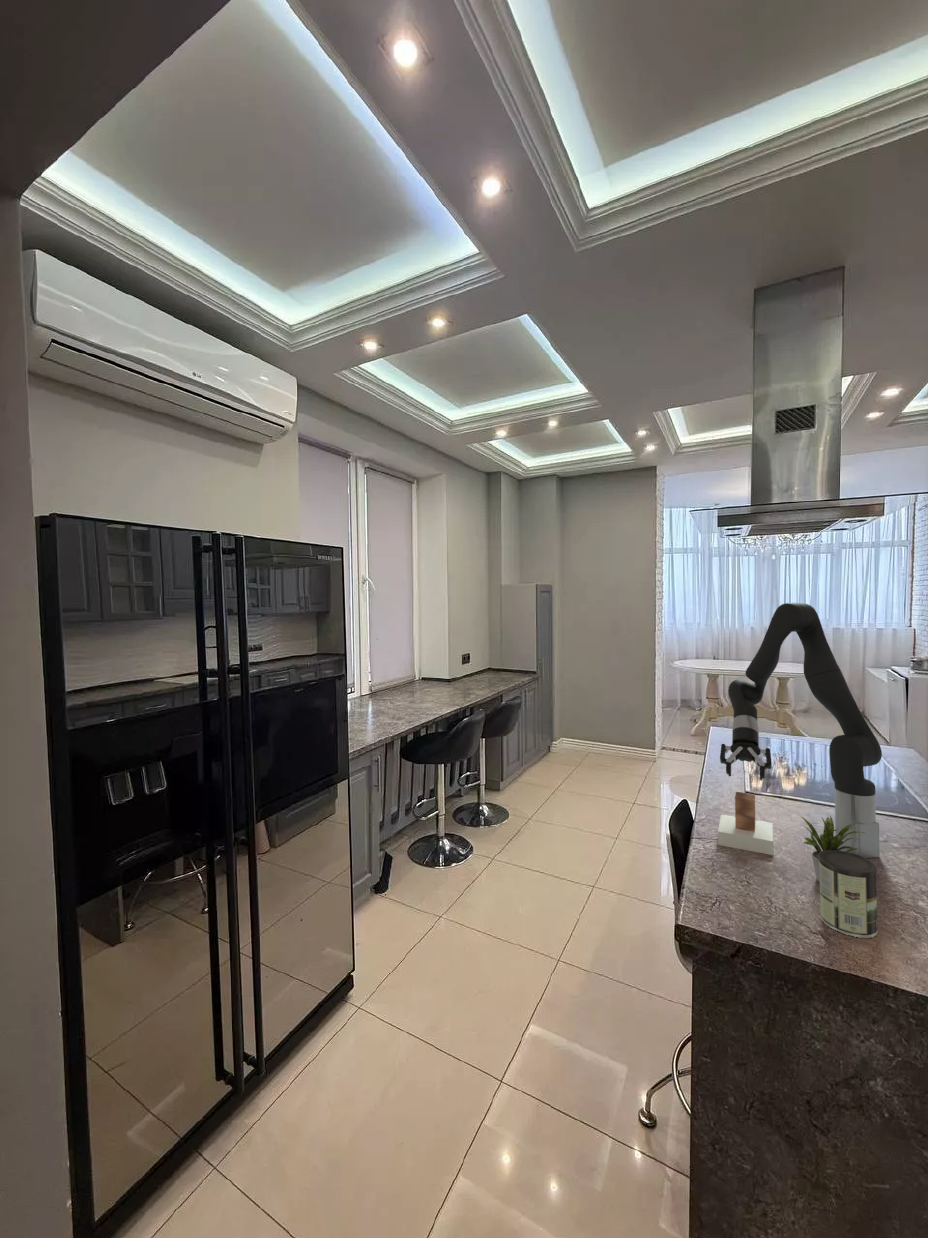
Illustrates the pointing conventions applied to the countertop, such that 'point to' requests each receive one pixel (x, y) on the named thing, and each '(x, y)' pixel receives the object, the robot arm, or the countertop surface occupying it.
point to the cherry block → (745, 811)
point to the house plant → (827, 840)
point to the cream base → (746, 836)
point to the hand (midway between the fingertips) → (745, 777)
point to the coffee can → (848, 893)
